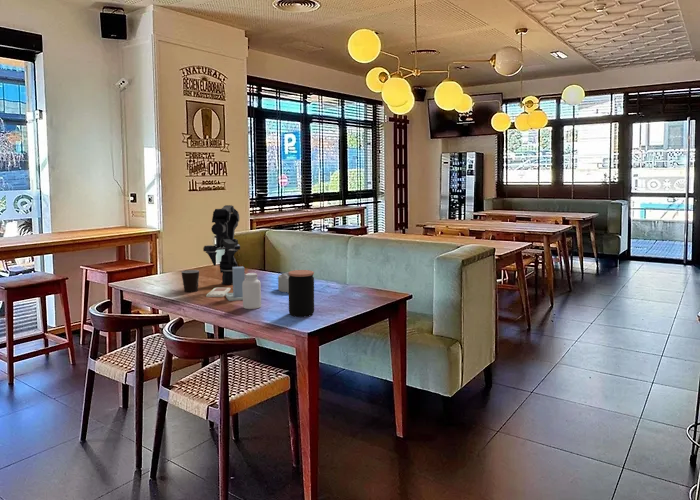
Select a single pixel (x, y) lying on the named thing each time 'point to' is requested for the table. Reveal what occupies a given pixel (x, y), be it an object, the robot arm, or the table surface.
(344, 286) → the table surface
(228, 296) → the tray
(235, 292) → the blue tall block
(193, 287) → the coffee mug
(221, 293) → the board
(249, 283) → the pill bottle
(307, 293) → the coffee jar
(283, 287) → the lumpy-topped squat cylinder
